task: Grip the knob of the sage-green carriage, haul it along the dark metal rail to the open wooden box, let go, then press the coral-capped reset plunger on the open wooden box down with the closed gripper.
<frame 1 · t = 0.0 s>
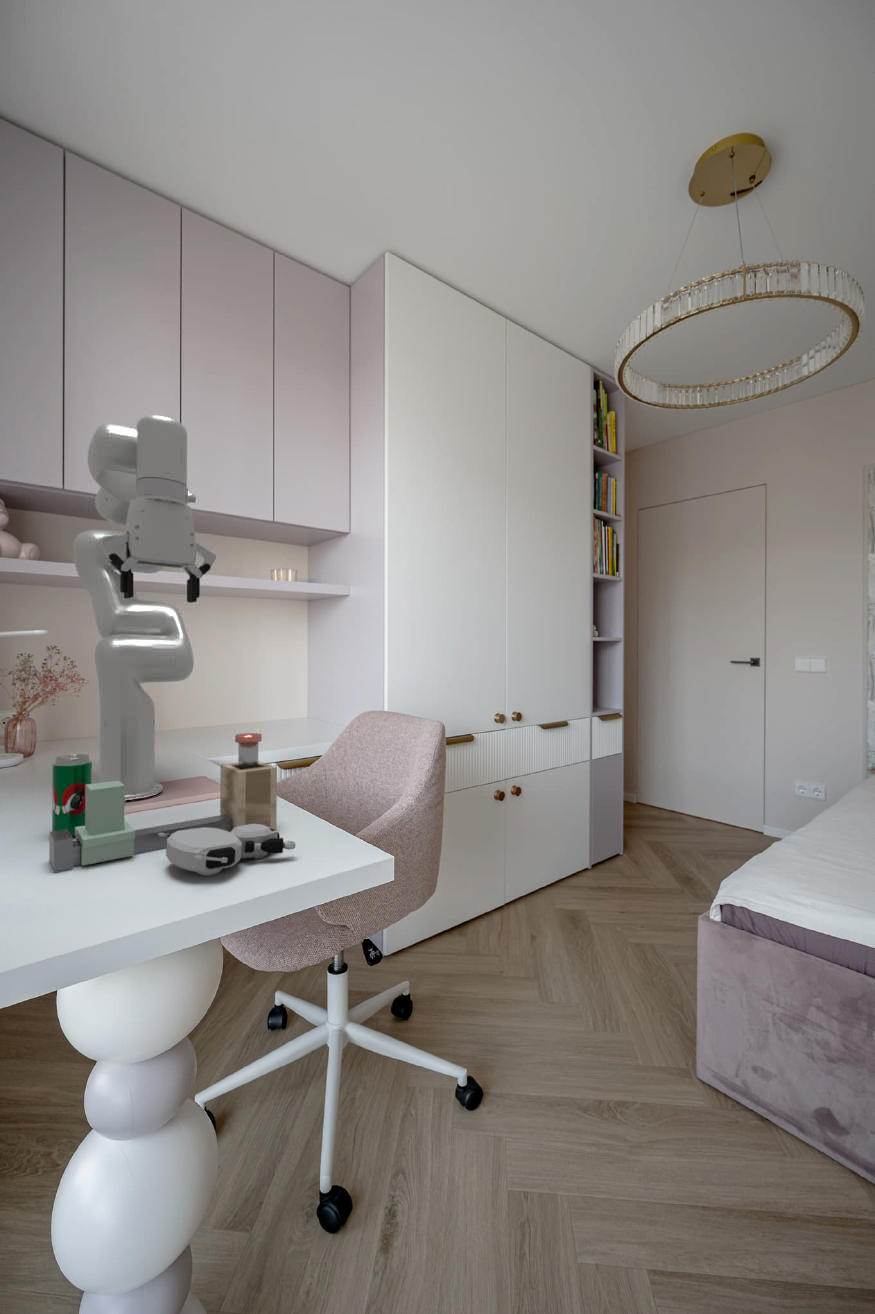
hand: (161, 599, 93), 37 cm above the table, tool pointing down, fingers open, 9 cm apart
soda can: (71, 835, 86), on the table
carriage: (104, 819, 77), point 5 cm above the table, slide at 0.0 cm
rail: (159, 845, 81), on the table
open wooden box: (247, 828, 90), on the table
plunger: (248, 753, 90), point 12 cm above the table, slide at 0.0 cm
robot toy: (228, 864, 75), on the table
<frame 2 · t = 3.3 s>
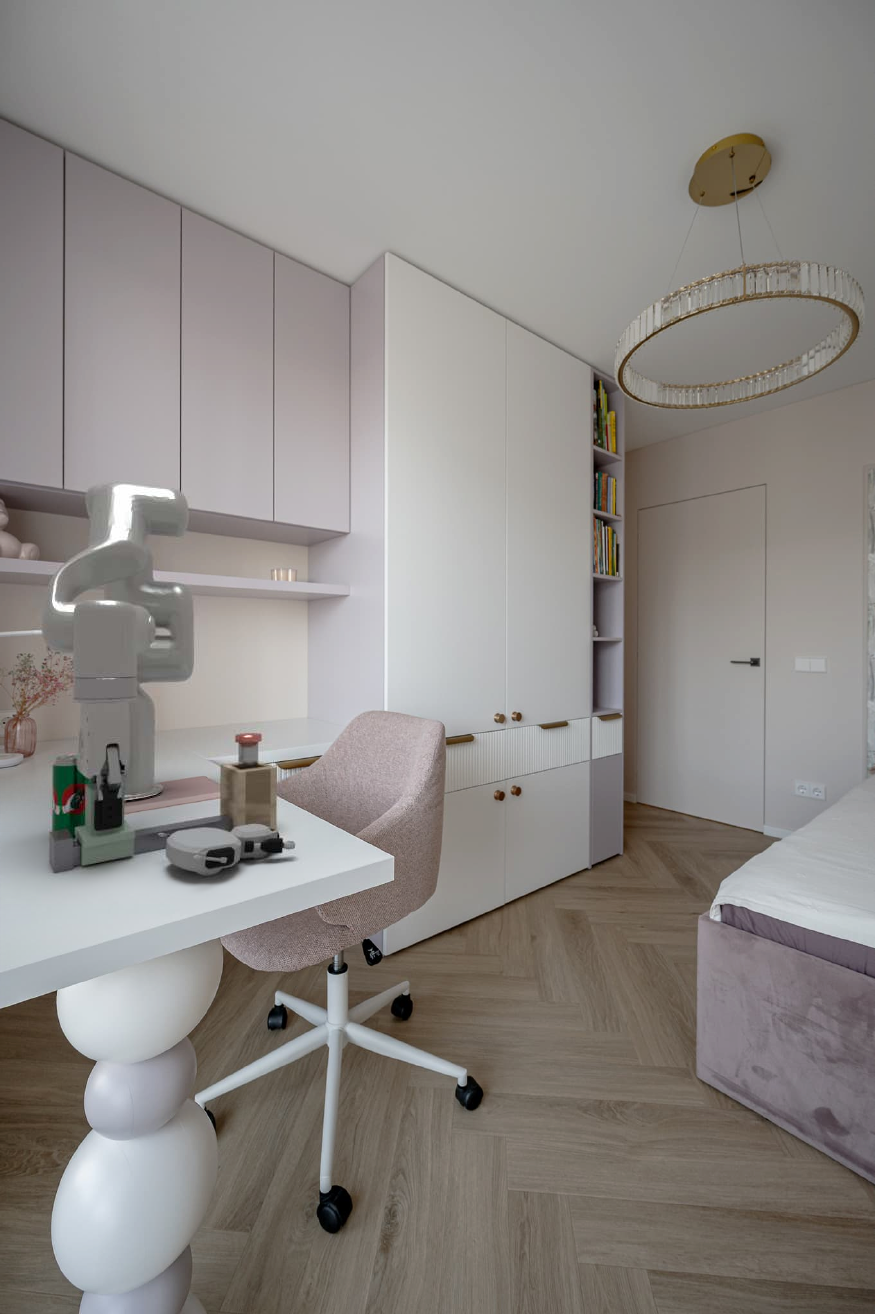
hand: (104, 823, 77), 5 cm above the table, tool pointing down, fingers closed on carriage, 4 cm apart
carriage: (104, 819, 77), point 5 cm above the table, slide at 0.0 cm, touching gripper
everything else where it was.
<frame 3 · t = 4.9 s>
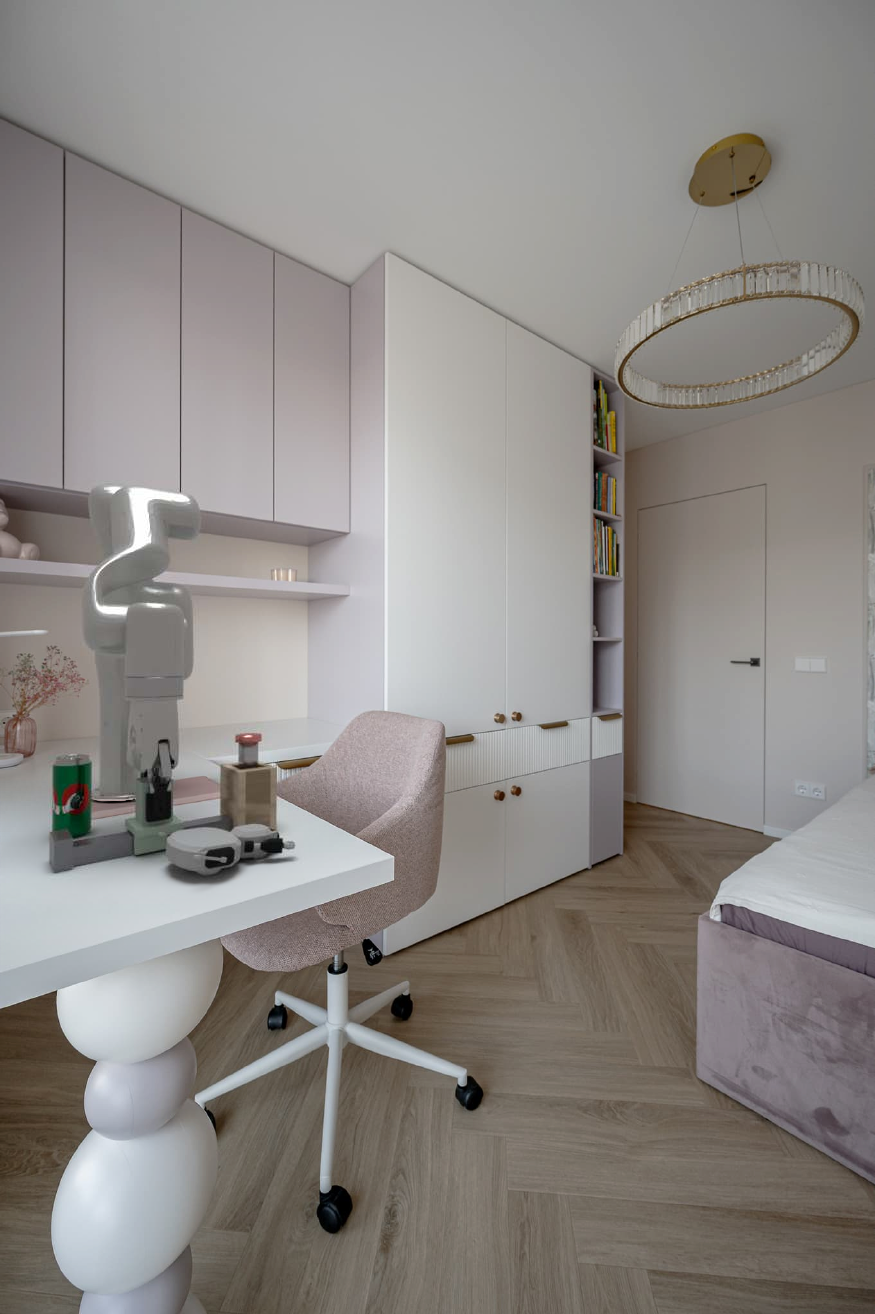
hand: (154, 815, 81), 5 cm above the table, tool pointing down, fingers closed on carriage, 4 cm apart
carriage: (154, 811, 81), point 5 cm above the table, slide at 6.2 cm, touching gripper
everything else where it was.
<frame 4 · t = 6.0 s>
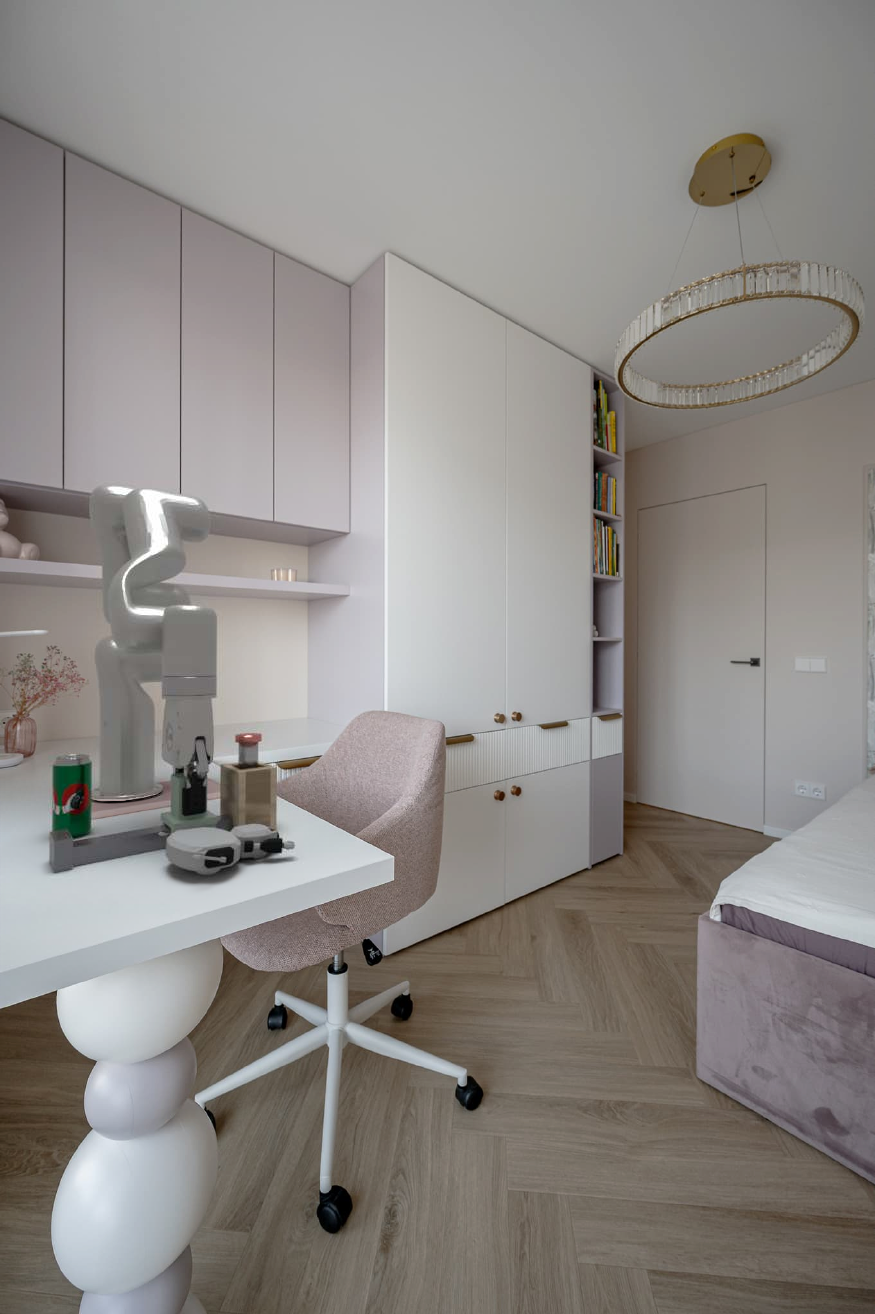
hand: (188, 809, 84), 5 cm above the table, tool pointing down, fingers closed on carriage, 4 cm apart
carriage: (188, 806, 84), point 5 cm above the table, slide at 11.0 cm, touching gripper
everything else where it was.
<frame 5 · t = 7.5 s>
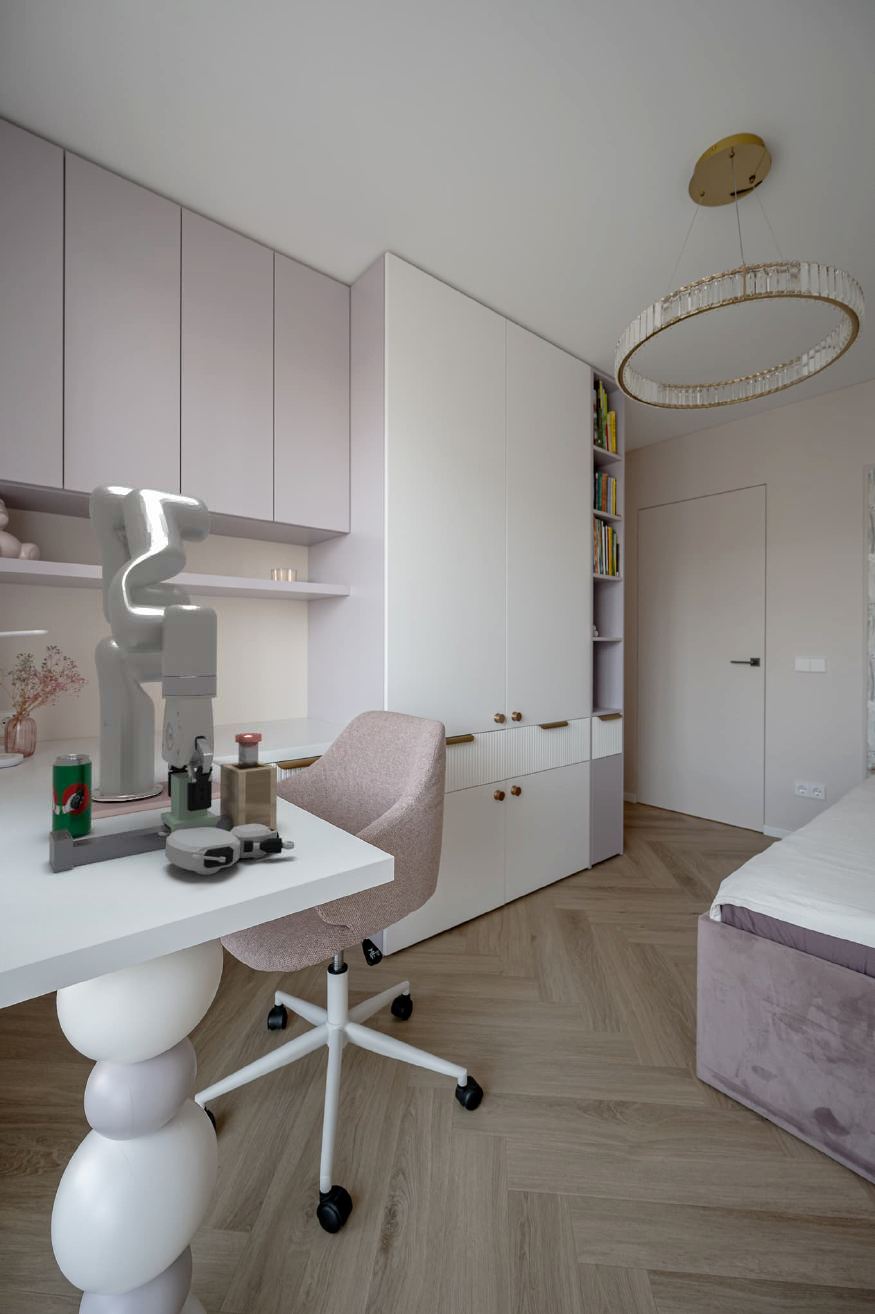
hand: (188, 802, 84), 6 cm above the table, tool pointing down, fingers open, 9 cm apart
carriage: (189, 806, 84), point 5 cm above the table, slide at 11.0 cm
everything else where it was.
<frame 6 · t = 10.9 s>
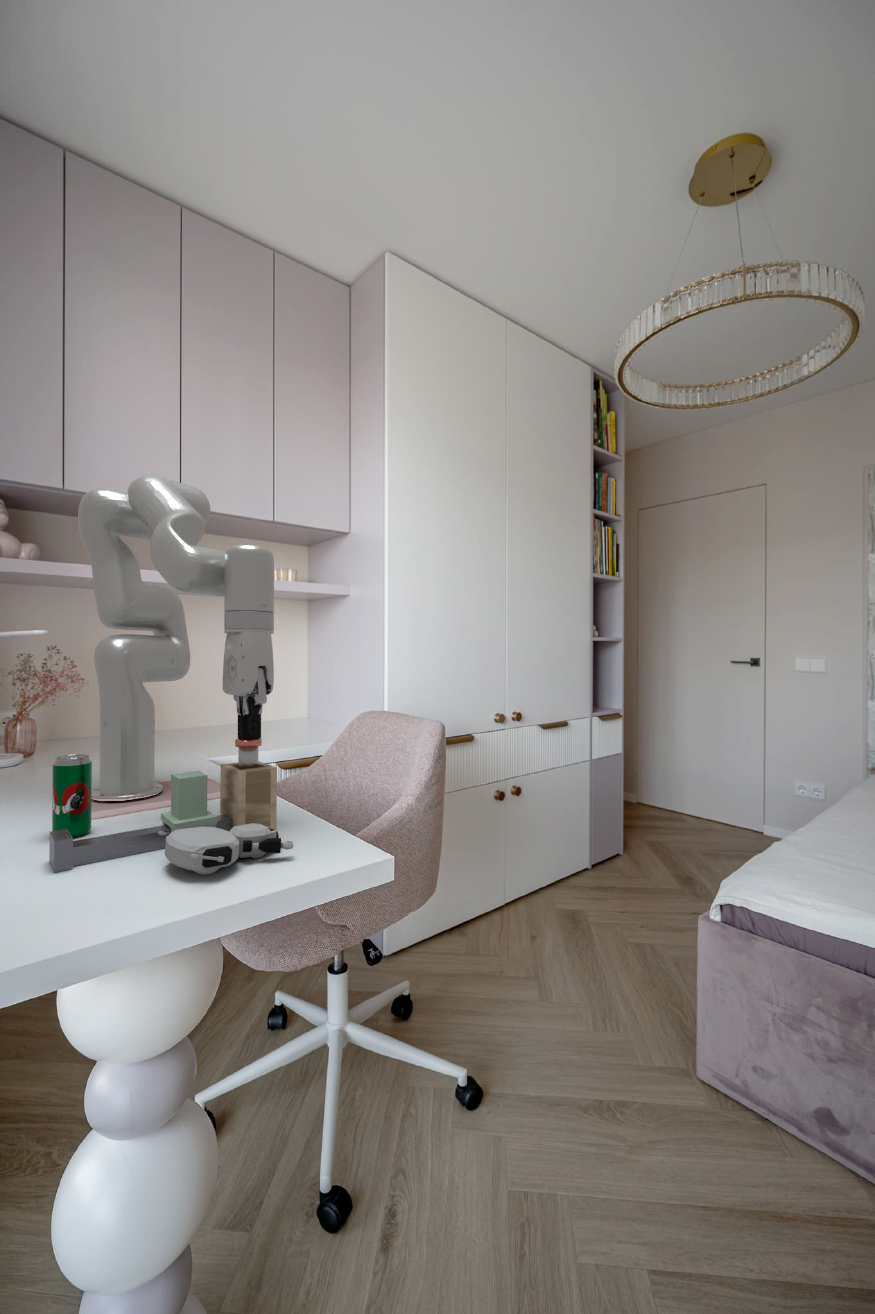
hand: (249, 738, 90), 14 cm above the table, tool pointing down, fingers closed
plunger: (248, 757, 90), point 11 cm above the table, slide at -0.7 cm, touching gripper
everything else where it was.
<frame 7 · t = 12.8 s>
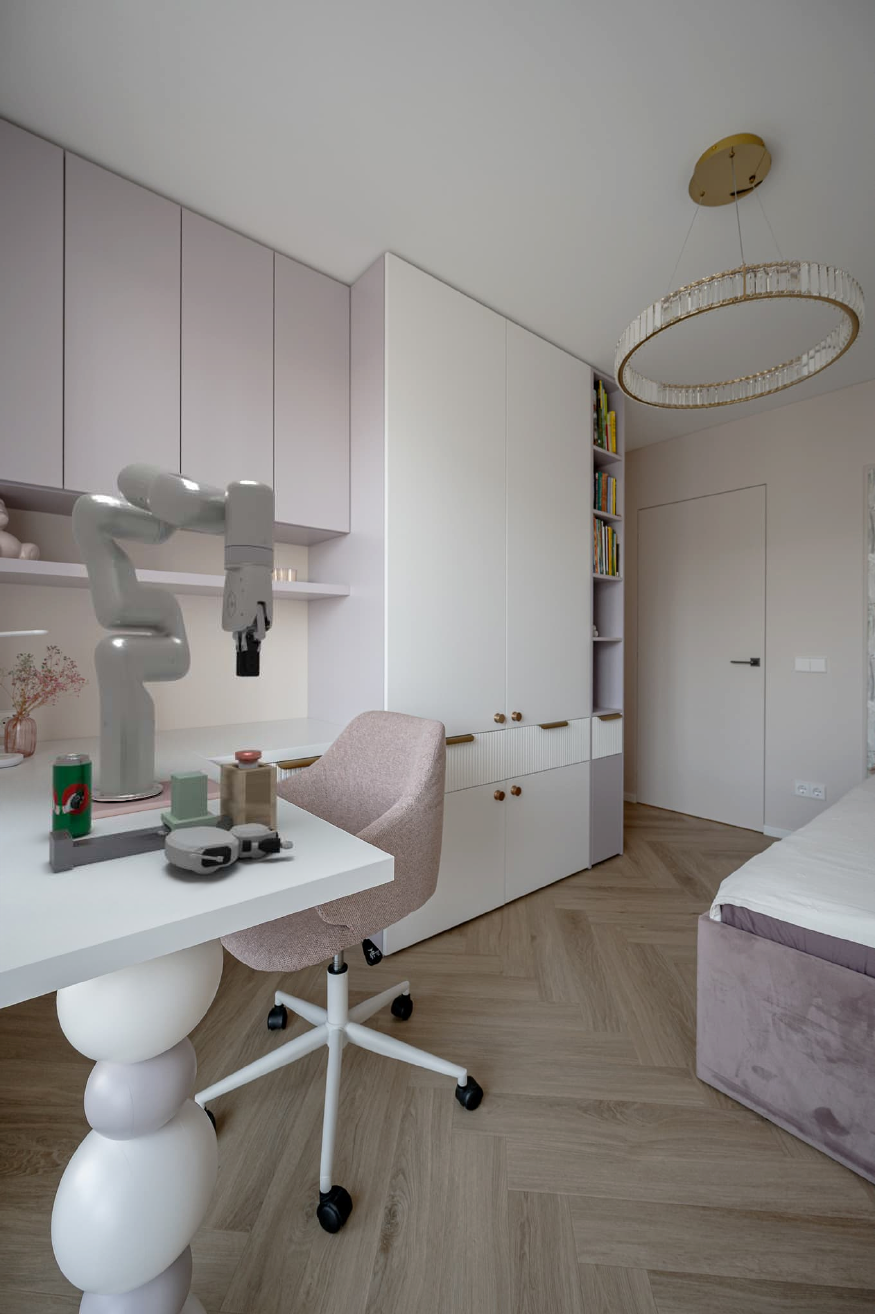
hand: (247, 676, 90), 24 cm above the table, tool pointing down, fingers closed
plunger: (248, 770, 90), point 9 cm above the table, slide at -2.8 cm
everything else where it was.
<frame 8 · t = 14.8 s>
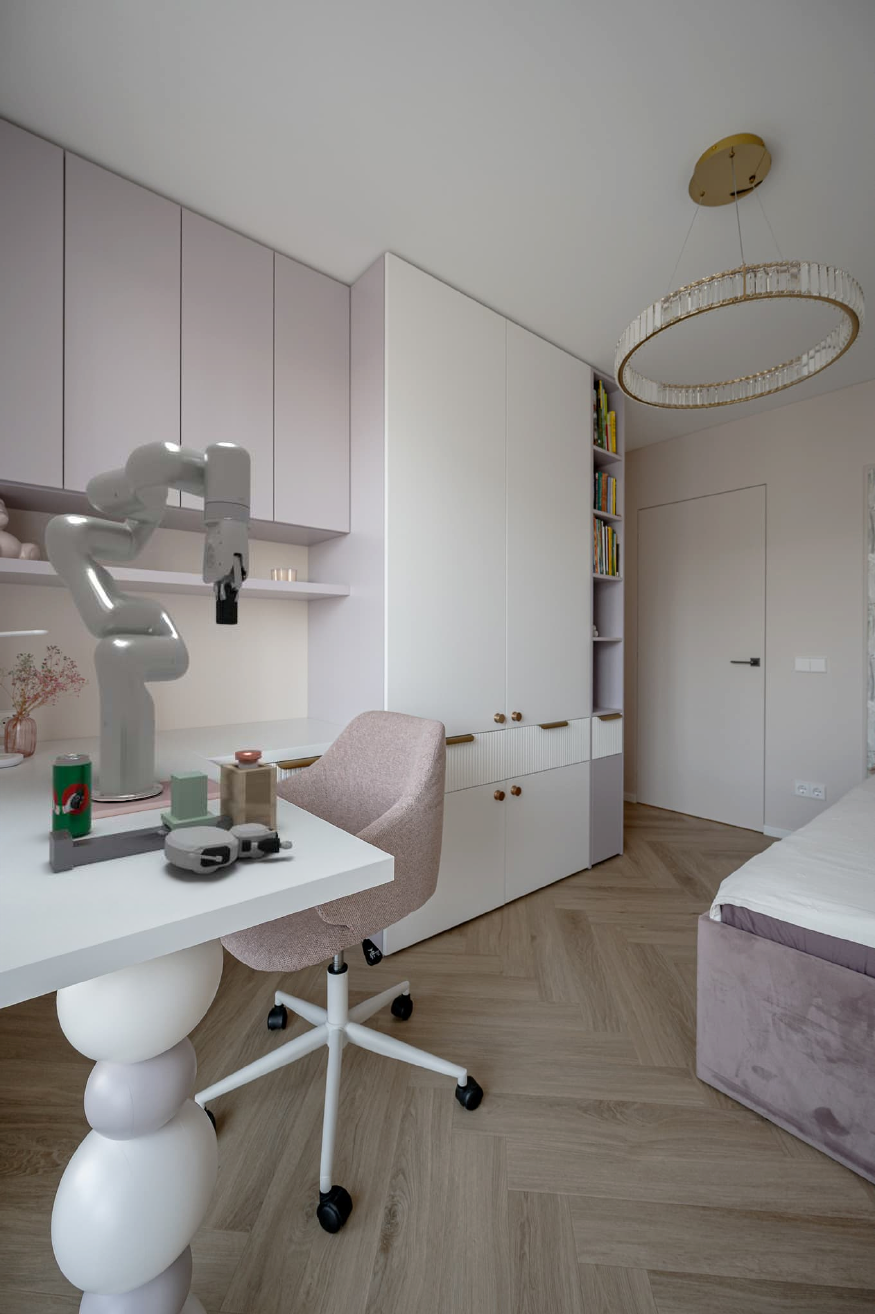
hand: (226, 624, 97), 33 cm above the table, tool pointing down, fingers closed
nothing on the table moved.
at the end: carriage slide at 11.0 cm; plunger slide at -2.8 cm; the gripper is holding nothing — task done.
